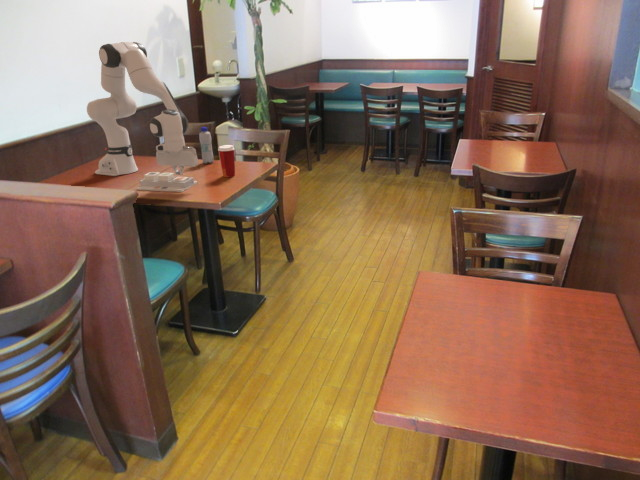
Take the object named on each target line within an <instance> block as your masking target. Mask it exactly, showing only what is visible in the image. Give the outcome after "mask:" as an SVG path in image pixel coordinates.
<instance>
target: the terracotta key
mask: <svg viewBox="0 0 640 480" xmlns="http://www.w3.org/2000/svg"><path fill="white" fill-rule="evenodd" d="M176 177H177V178H175V179H173V180H172V181H173V182H185V181H187V180H189V178H190V177H189V176H176Z"/></svg>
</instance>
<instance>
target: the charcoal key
mask: <svg viewBox="0 0 640 480" xmlns="http://www.w3.org/2000/svg"><path fill="white" fill-rule="evenodd" d="M160 174H162V173H161V172H159V171H156V172H155V171H149V172H147V173H146V174H143V176H144V177H143V179H145V181H156V180H158V175H160Z"/></svg>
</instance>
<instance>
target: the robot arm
mask: <svg viewBox="0 0 640 480" xmlns="http://www.w3.org/2000/svg"><path fill="white" fill-rule="evenodd" d="M98 54H99V55H98V56H99V59H100V61H101V67H100V69H101V71H100V86H101V87H102V89H103V90H104V91H105V92H107V93H109V94H110V96H109V97H103V98H97V99H94V100H91V101H89V102H88V103H87V106H86V112H87V115H88V117H89V118H90V119H91V120H92V121H93V122H96V123H97V124H98V125H99V126H100V127H101V128H102V130H103V132H104V134H105V138H106V141H107V147H105V148H104V151H106V154H105V155H104V156H102V158H101V159H100V160H99V161H98V169H96V170H95V171H94V174H95V175H103V176H112V177H116V176H120V175H127V174H132V173H133V174H134V173H135V172H138V170H139V168H138V166H137V164H136V161H135V158H134V155H133V153H134V152H133V147H132V144H131V139H130V136H129V130H127V128H126V127H124V126H122V125H119V123H117V120H118V119H124V118H128V117H131V116H132V115H134V114H136V111H137V108H138V107H137V103H136V101H135V98H133V97H131V96H130V95H129V94H128V93H127V89H126V72H127V74H128V77H129V79H130V82H131V84H132V86H133V87H134V88H135V89H136V90H137V91H139V92H141V93H142V94H148V95H151V96H155V97H156V98H158V99H160V100H161V102H162V103H163V105H164V107H165V108H166V109H164V110H162V111H161V113H160V114H158V115H156V116H154V117H152V118H151V119H150V121H149V123H148V126H149V127H148V128H149V131H150V133H151V134H152V135H153V136H154V137H156V138H164V142H162V143H159V144H158V145H156V146H155V150H156V153H155V158H156V159H155V161H156V163H157V165H158V166H167V167H168V166H170V167H172V168H171V169H172V170H173V171H174V175H175V176H182V175H183V174H184V173H183V172H184V168H185V167H189V168H193V167H197V166H198V164H199V159H198V155H197V150H196V148H194V147H193V146H188V145H187V146H186V143H185V136H184V134H185V133H186V132H187V131H188V128H189V120H188V119H187V116H186V115H185V114H184V113H183V111H182V110H181V108H180V107H179V105H178V103H177V102H176V100H175V98H174V96H173V94H172V93H171V91H170V89H169V88H168V86H167V85H166V83H165V82H163V81H162V80H160V79H159V77H157V75H156V74H155V72H154V69H153V67H152V64H151V63H150V61H149V59H148V52H147V49H146V47H145V46H144V45H143V44H142V43H139V42H135V41H133V42H129V41H123V42H115V43H105V44H102V45H101V46H100V48H99V51H98ZM178 167H179V168H178Z"/></svg>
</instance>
